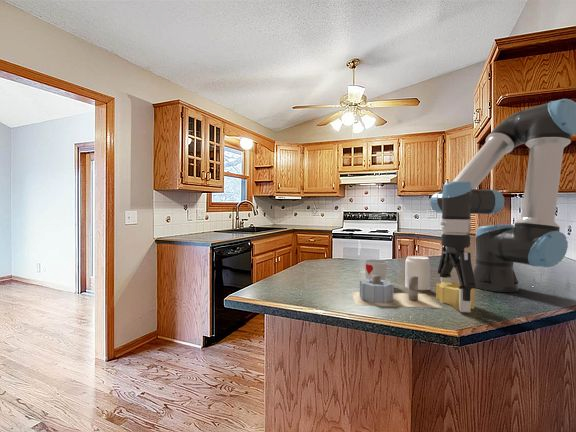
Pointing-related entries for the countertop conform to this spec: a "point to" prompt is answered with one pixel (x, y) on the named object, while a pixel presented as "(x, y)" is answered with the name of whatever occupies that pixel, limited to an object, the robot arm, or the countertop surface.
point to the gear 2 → (451, 294)
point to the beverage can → (418, 271)
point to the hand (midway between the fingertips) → (454, 304)
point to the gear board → (401, 296)
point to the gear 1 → (376, 291)
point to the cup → (376, 268)
